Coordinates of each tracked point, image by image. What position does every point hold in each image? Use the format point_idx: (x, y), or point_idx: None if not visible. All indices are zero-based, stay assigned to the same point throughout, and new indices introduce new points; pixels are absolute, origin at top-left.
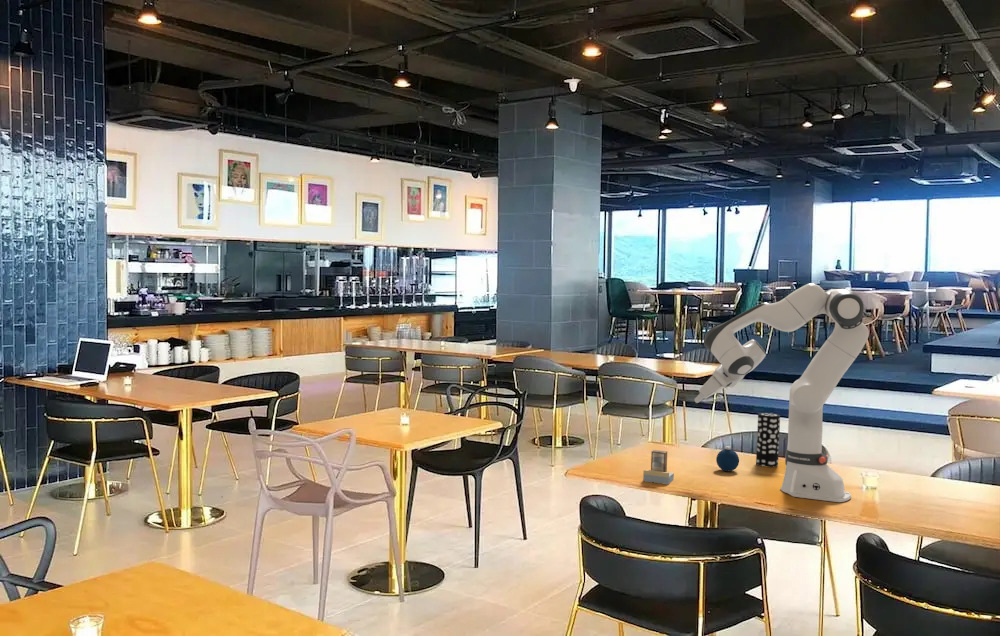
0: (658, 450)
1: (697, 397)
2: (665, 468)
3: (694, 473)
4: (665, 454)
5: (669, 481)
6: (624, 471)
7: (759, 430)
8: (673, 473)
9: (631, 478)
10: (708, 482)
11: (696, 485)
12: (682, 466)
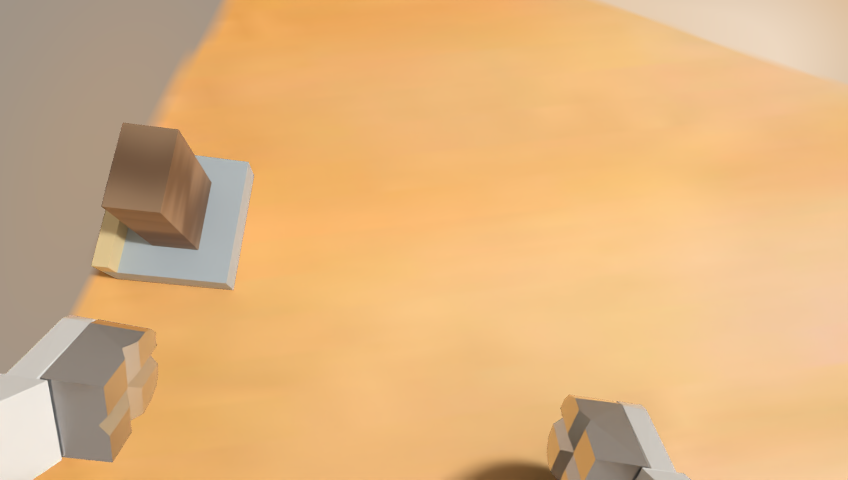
0: (169, 158)
1: (13, 385)
2: (157, 238)
3: (431, 369)
4: (109, 210)
5: (138, 279)
6: (322, 67)
7: None
8: (219, 282)
9: (189, 108)
10: (249, 469)
11: (150, 417)
12: (558, 294)
